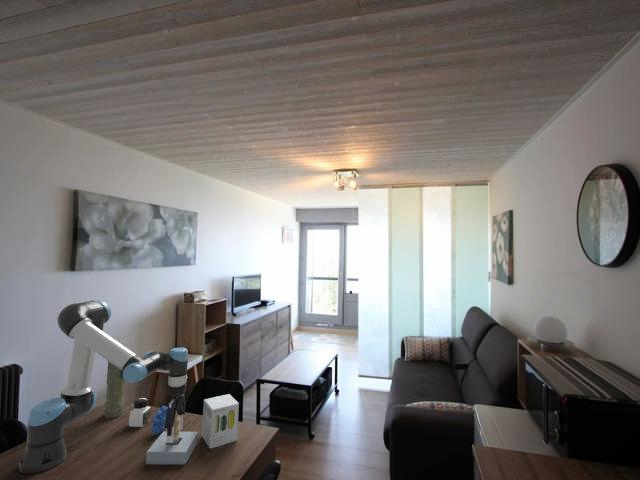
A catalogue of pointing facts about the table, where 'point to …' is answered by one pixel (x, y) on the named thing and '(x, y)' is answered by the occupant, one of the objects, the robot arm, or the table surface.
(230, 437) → the supplement box
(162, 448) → the socket block
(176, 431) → the peg
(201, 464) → the table surface
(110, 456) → the table surface
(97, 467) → the table surface
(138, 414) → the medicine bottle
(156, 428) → the grapes
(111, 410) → the thermos
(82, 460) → the table surface
